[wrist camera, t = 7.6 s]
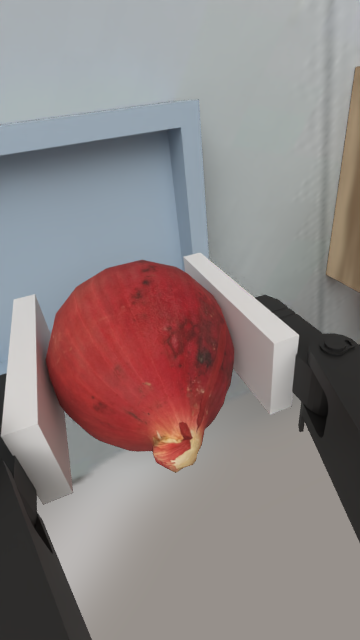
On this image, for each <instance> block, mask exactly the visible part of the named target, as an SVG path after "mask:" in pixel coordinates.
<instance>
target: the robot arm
mask: <svg viewBox="0 0 360 640" xmlns="http://www.w3.org/2000/svg"><path fill="white" fill-rule="evenodd" d="M183 258H184V267H185V272H186V273H188V274H189V275H190V276H191V277H192V278H193V279H195V280H196V281H197V282H198V283H199V284H200V285H202V286H203V287H204V288H205V289H206V290H208V291H209V292H210V293H211V294H212V295H213V296H214V298H215V299H216V301H217V303H218V304H219V306H220V308H221V310H222V312H223V315H224V318H225V321H226V324H227V327H228V330H229V332H230V335H231V339H232V342H233V346H234V364H233V369H234V370H235V371H236V372H237V374H238V375H239V376H240V377H241V379H242V380H243V381H244V383H245V384H246V385H247V386H248V388H249V389H250V390H251V391H252V393H253V394H254V395H255V397H256V398H257V399H258V400H259V402H260V403H261V404H262V405H263V407H264V408H265V409H266V410H267V412H268V413H269V414H270V415H272V414H274V413H276V412H279V411H282V410H284V409H287V408H289V407H292V398H293V393H294V394H295V395H296V396H297V397H298V398H299V399H300V400H301V409H300V417H299V431H300V432H301V431H303V429H304V422H305V423H306V425H307V428H308V431H309V432H310V434H311V436H312V439H313V441H314V443H315V445H316V447H317V449H318V452H319V454H320V456H321V458H322V461H323V463H324V465H325V467H326V469H327V472H328V474H329V476H330V478H331V480H332V482H333V485H334V487H335V489H336V491H337V493H338V496H339V498H340V500H341V502H342V505H343V507H344V509H345V511H346V513H347V516H348V518H349V520H350V522H351V524H352V526H353V529H354V531H355V533H356V535H357V538H358V540H359V542H360V345H358V344H357V343H356V342H355V341H353V340H352V339H350V338H348V337H346V336H343V335H338V334H322V333H321V332H320V331H318V330H317V329H316V328H315V327H313V326H312V325H311V324H309V323H308V322H307V321H305V320H304V319H303V318H301V317H300V316H299V315H297V314H295V312H294V311H292V310H291V309H290V308H289V309H288V307H287V306H286V305H284V304H283V303H282V302H280V301H279V300H278V299H275V298H272V297H269V296H267V295H263V296H259V297H256V298H254V297H253V296H252V295H251V294H249V293H248V292H247V291H246V290H245V289H243V288H242V287H241V286H240V285H239V284H237V283H236V282H235V281H234V280H233V279H231V278H230V277H229V276H228V275H227V274H225V273H224V272H223V271H222V270H221V269H219V268H218V267H217V266H216V265H215V264H213V263H212V262H211V261H210V260H209V259H208V258H206V257H205V256H204V255H203V254H202V253H196V254H192V255H188V256H184V257H183ZM50 337H51V333H50V331H49V328H48V326H47V323H46V321H45V318H44V316H43V313H42V310H41V308H40V305H39V303H38V300H37V298H36V295H35V294H33V295H29V296H25V297H21V298H17V299H14V301H13V312H12V322H11V333H10V343H9V354H8V365H7V373H5V374H2V375H0V640H92V639H91V637H90V634H89V632H88V629H87V627H86V624H85V622H84V620H83V617H82V615H81V613H80V610H79V608H78V605H77V603H76V600H75V598H74V595H73V593H72V591H71V589H70V586H69V584H68V581H67V579H66V576H65V574H64V571H63V569H62V566H61V564H60V562H59V559H58V557H57V555H56V552H55V550H54V547H53V545H52V542H51V540H50V537H49V535H48V533H47V530H46V528H45V525H44V523H43V521H42V519H41V518H40V516H39V514H38V513H37V496H38V497H39V499H40V500H41V502H42V504H43V505H44V504H46V503H49V502H51V501H54V500H56V499H59V498H61V497H64V496H67V495H69V494H72V493H73V488H72V479H71V470H70V461H69V452H68V443H67V433H66V424H65V415H64V410H63V408H62V407H61V406H60V405H59V402H58V399H57V396H56V394H55V391H54V388H53V385H52V382H51V379H50V376H49V373H48V368H47V364H46V360H45V359H46V355H47V350H48V346H49V341H50Z"/></svg>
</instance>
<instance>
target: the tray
mask: <svg viewBox="0 0 360 640" xmlns="http://www.w3.org/2000/svg"><path fill="white" fill-rule="evenodd" d="M196 253H202V254H203V255H204V256H205V257H206V258H208V259H209V249H208V234H207V218H206V202H205V187H204V171H203V156H202V140H201V124H200V109H199V99H197V100H183V101H172V102H165V103H158V104H150V105H143V106H136V107H128V108H121V109H113V110H106V111H99V112H91V113H84V114H76V115H69V116H62V117H54V118H47V119H39V120H32V121H25V122H17V123H10V124H2V125H0V375H2V374H5V373H7V365H8V354H9V343H10V333H11V322H12V312H13V301H14V299H17V298H21V297H25V296H29V295H33V294H35V295H36V298H37V300H38V303H39V305H40V308H41V310H42V313H43V316H44V318H45V321H46V323H47V326H48V328H49V331H50V333H52V328H53V324H54V320H55V315H56V313H57V311H58V310H59V309H60V308H61V306H62V305H63V304H64V302H65V301H66V300H67V298H68V297H69V296H70V294H71V293H72V292H73V291H74V289H75V288H76V287H77V286H78V285H80V284H82V283H83V282H85V281H86V280H88V279H90V278H91V277H93V276H95V275H96V274H98V273H99V272H101V271H103V270H104V269H106V268H109V267H113V266H118V265H122V264H126V263H130V262H134V261H139V260H146V261H151V262H155V263H160V264H165V265H170V266H174V267H177V268H179V269H181V270H182V271H184V272H185V267H184V258H183V257H184V256H188V255H192V254H196Z"/></svg>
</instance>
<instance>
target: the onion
mask: <svg viewBox="0 0 360 640" xmlns="http://www.w3.org/2000/svg"><path fill="white" fill-rule="evenodd" d="M45 360H46V364H47V368H48V373H49V376H50V379H51V382H52V385H53V388H54V391H55V394H56V396H57V399H58V402H59V405H60V406H61V407H62V408H63V410H64V411H65V412H66V413H67V414H68V415H69V416H70V417H71V418H72V419H73V420H74V421H75V422H76V423H77V424H79V425H80V426H81V427H82V428H83V429H84V430H85V431H86V432H88V433H89V434H90V435H92V436H93V437H95V438H96V439H98V440H99V441H102V442H105V443H108V444H111V445H114V446H117V447H120V448H123V449H126V450H129V451H153V455H154V458H155V460H156V462H157V463H158V464H160V465H162V466H164V467H165V468H167V469H169V470H171V471H173V472H175V473H176V472H178V471H179V470H181V469H182V468H184V467H187V466H190V465H193V463H194V462H195V461H196V457H197V453H198V451H199V449H200V447H201V445H202V441H203V435H204V430H205V428H207V427H208V426H209V425H210V424H211V423H212V421H213V420H214V419H215V417H216V416H217V414H218V412H219V411H220V409H221V407H222V405H223V403H224V400H225V396H226V393H227V391H228V389H229V386H230V383H231V377H232V370H233V364H234V346H233V342H232V339H231V335H230V332H229V330H228V327H227V324H226V321H225V318H224V315H223V312H222V310H221V308H220V306H219V304H218V303H217V301H216V299H215V298H214V296H213V295H212V294H211V293H210V292H209V291H208V290H206V289H205V288H204V287H203V286H202V285H200V284H199V283H198V282H197V281H196V280H195V279H193V278H192V277H191V276H190V275H189V274H188V273H186V272H184V271H182V270H181V269H179V268H177V267H174V266H170V265H165V264H160V263H155V262H151V261H146V260H139V261H134V262H130V263H126V264H122V265H118V266H113V267H109V268H106V269H104V270H103V271H101V272H99V273H98V274H96V275H95V276H93V277H91V278H90V279H88V280H86V281H85V282H83V283H82V284H80V285H78V286H77V287H76V288H75V289H74V291H73V292H72V293H71V294H70V296H69V297H68V298H67V300H66V301H65V302H64V304H63V305H62V306H61V308H60V309H59V310H58V311H57V313H56V315H55V320H54V324H53V328H52V333H51V337H50V341H49V346H48V350H47V355H46V359H45Z"/></svg>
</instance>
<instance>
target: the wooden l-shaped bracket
mask: <svg viewBox="0 0 360 640" xmlns="http://www.w3.org/2000/svg"><path fill="white" fill-rule="evenodd" d="M326 275H328V276H330V277H332V278H333V279H335V280H337V281H339V282H341V283H343V284H345V285H346V286H348V287H350V288H352V289H354V290H356V291H357V292H359V293H360V66H358V67H356V68H355V75H354V82H353V89H352V96H351V103H350V110H349V117H348V124H347V131H346V138H345V145H344V152H343V159H342V166H341V172H340V179H339V186H338V193H337V200H336V207H335V214H334V221H333V228H332V235H331V242H330V249H329V256H328V263H327V270H326Z"/></svg>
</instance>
